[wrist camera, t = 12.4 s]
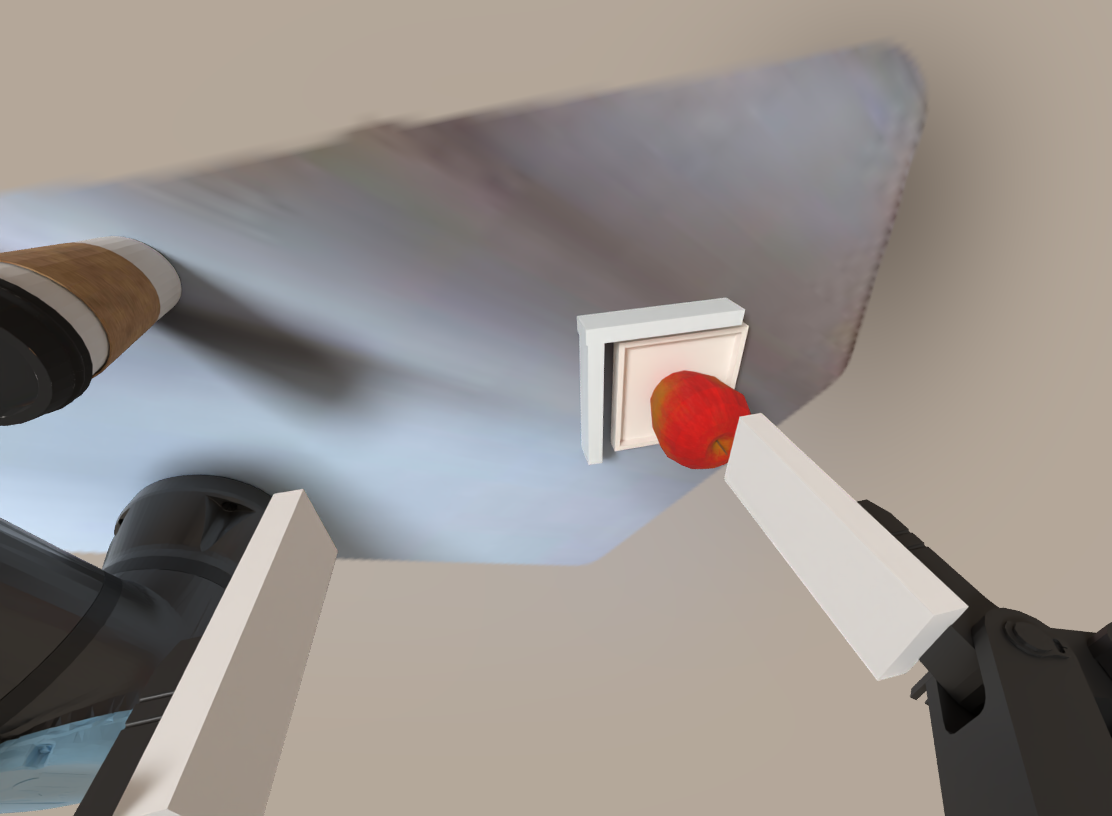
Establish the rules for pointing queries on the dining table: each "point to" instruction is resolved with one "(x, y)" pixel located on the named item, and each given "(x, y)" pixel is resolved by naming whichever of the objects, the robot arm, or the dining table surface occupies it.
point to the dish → (665, 374)
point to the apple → (696, 418)
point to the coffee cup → (73, 317)
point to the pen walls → (630, 327)
